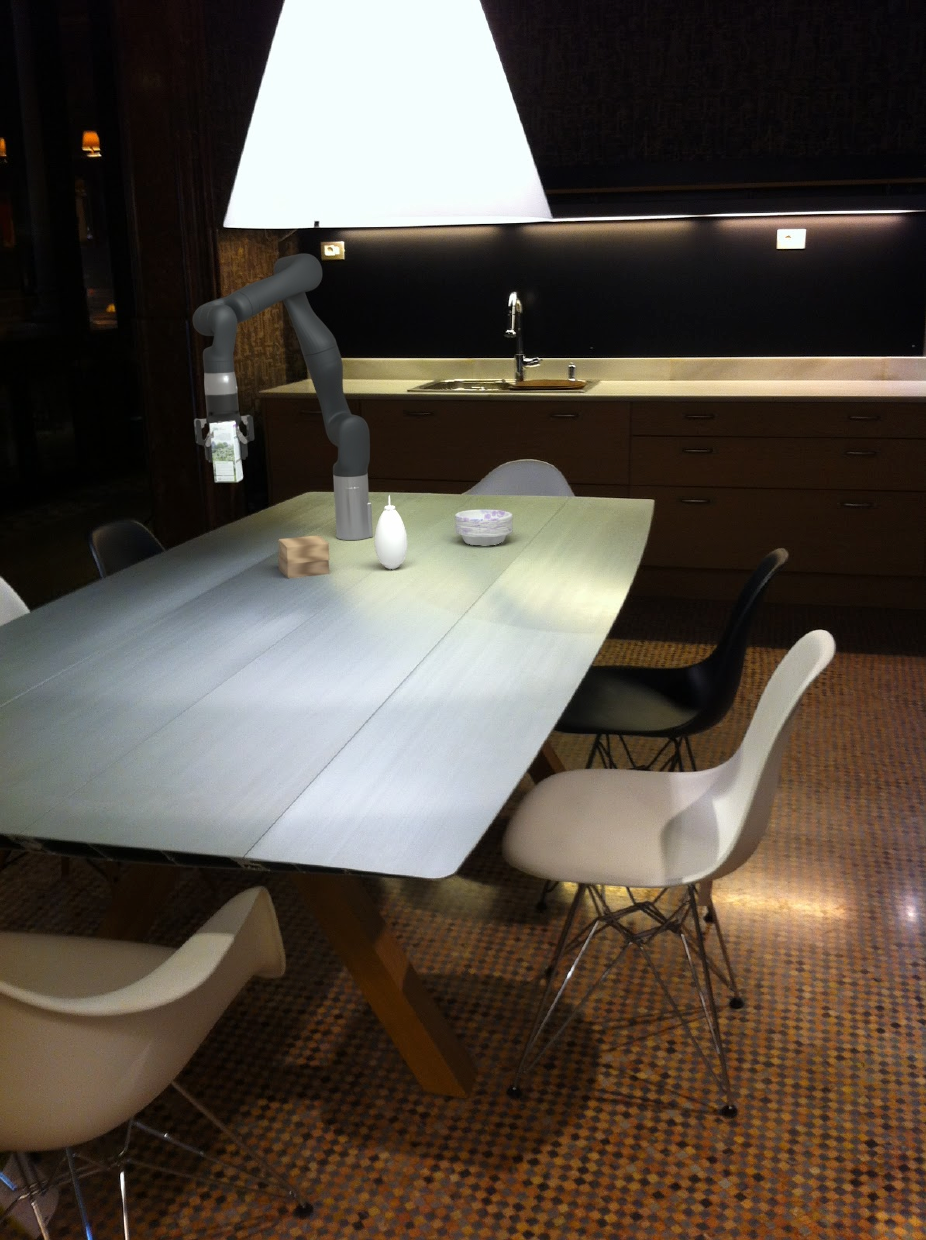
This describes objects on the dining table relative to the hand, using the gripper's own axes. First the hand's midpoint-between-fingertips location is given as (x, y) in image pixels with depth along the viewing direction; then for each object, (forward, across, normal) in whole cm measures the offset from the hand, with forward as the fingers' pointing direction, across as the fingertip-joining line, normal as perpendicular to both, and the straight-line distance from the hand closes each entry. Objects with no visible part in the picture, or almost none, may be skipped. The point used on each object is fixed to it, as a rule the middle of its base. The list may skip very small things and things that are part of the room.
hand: (227, 460), depth 281 cm
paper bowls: (+27, -65, +5) cm, 70 cm away
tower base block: (+27, -14, +14) cm, 33 cm away
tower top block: (+23, -14, +14) cm, 30 cm away
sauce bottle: (+27, -34, +21) cm, 48 cm away
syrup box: (+5, 0, 0) cm, 5 cm away
